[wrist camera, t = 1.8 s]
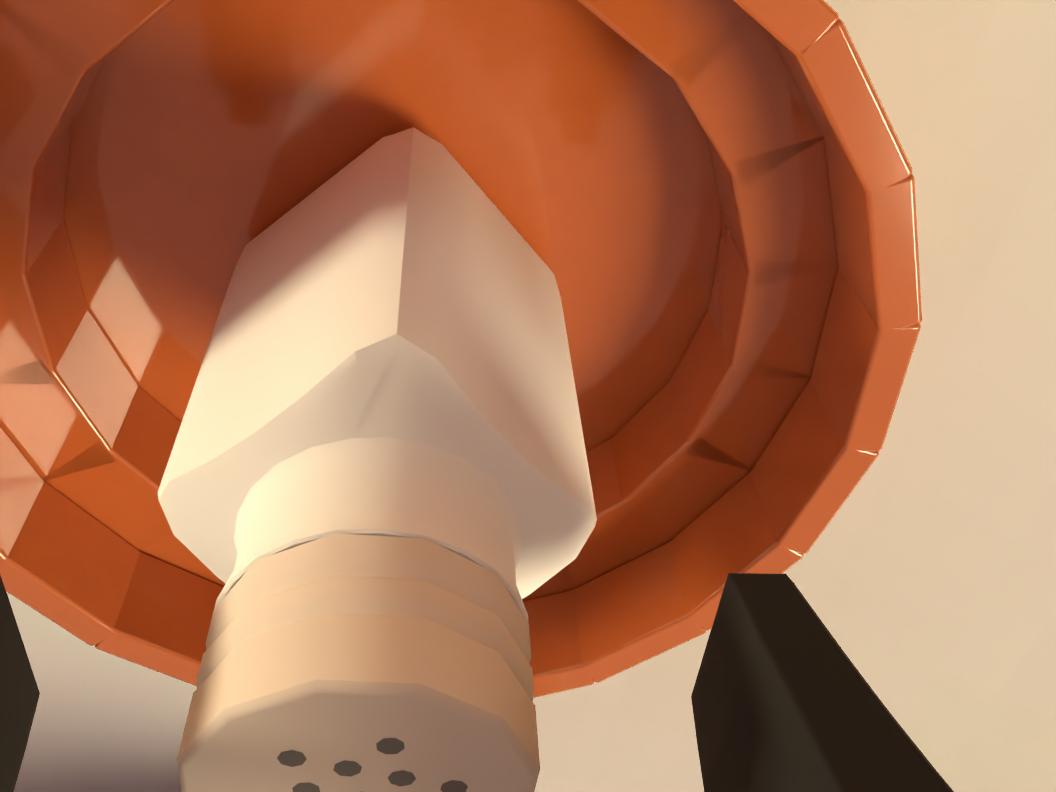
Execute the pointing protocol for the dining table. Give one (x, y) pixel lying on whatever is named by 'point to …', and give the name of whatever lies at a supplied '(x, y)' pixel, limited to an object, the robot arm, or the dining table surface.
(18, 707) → the robot arm
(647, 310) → the bowl
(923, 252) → the dining table surface
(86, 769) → the dining table surface
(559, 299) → the salt shaker
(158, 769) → the dining table surface
